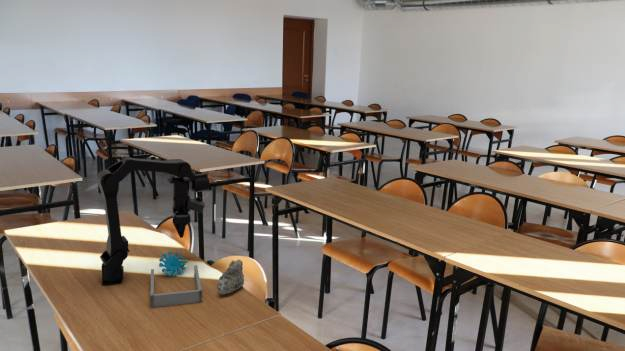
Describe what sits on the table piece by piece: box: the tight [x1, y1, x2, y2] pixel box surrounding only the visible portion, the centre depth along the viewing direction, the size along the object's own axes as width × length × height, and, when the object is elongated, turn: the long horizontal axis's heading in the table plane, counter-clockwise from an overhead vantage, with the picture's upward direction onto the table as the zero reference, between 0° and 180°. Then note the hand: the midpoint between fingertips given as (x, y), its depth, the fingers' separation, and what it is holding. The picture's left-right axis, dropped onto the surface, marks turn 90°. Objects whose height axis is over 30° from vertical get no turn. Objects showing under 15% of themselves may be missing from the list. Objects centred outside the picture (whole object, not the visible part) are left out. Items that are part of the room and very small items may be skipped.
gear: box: [158, 250, 189, 277], centre depth 173 cm, size 11×6×10 cm
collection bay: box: [149, 264, 203, 308], centre depth 159 cm, size 16×20×4 cm
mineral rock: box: [216, 259, 245, 295], centre depth 162 cm, size 13×11×10 cm
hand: (181, 233), depth 175 cm, fingers open, 9 cm apart
